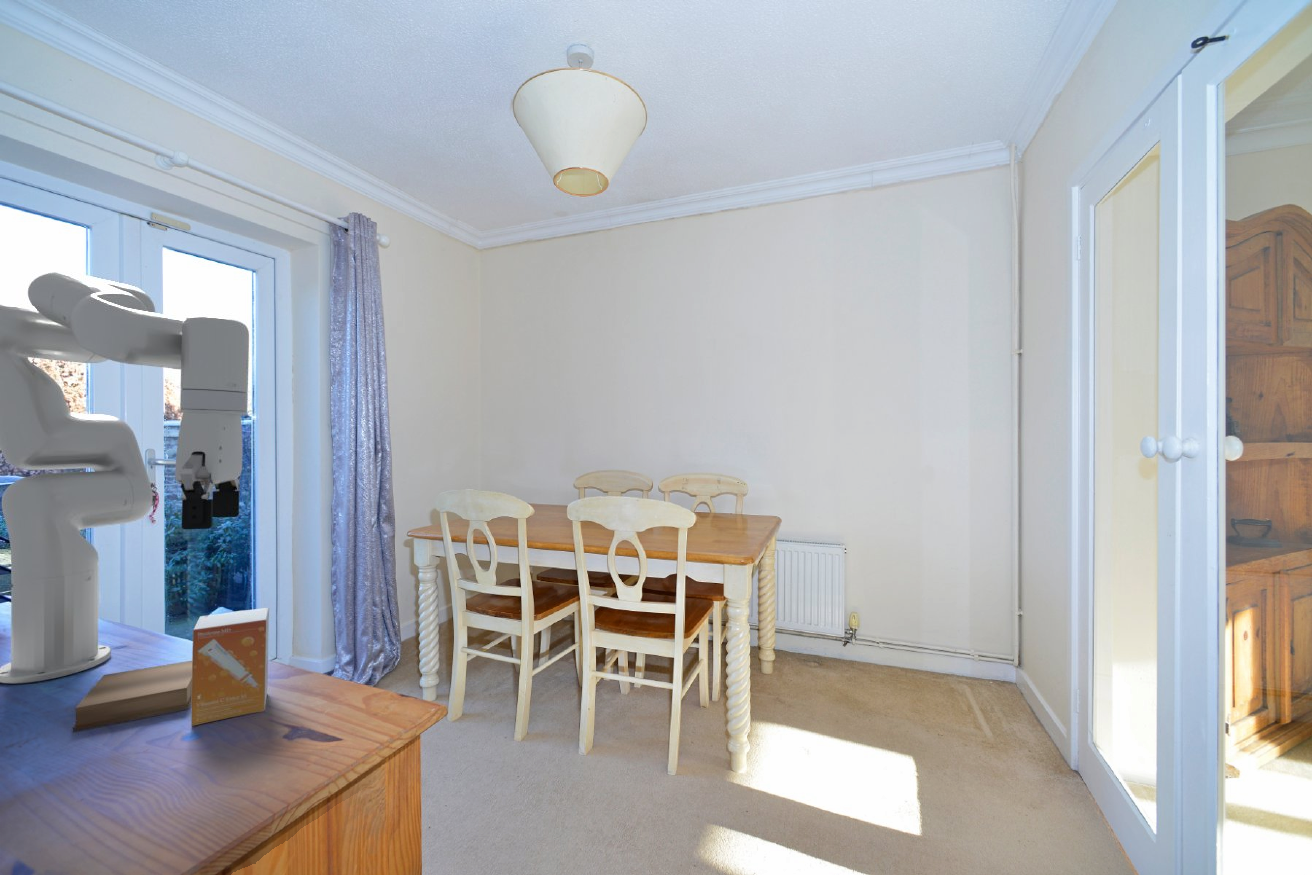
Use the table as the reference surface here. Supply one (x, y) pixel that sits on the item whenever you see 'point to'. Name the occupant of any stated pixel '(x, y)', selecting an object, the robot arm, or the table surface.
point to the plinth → (136, 695)
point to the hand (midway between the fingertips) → (212, 522)
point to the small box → (229, 665)
